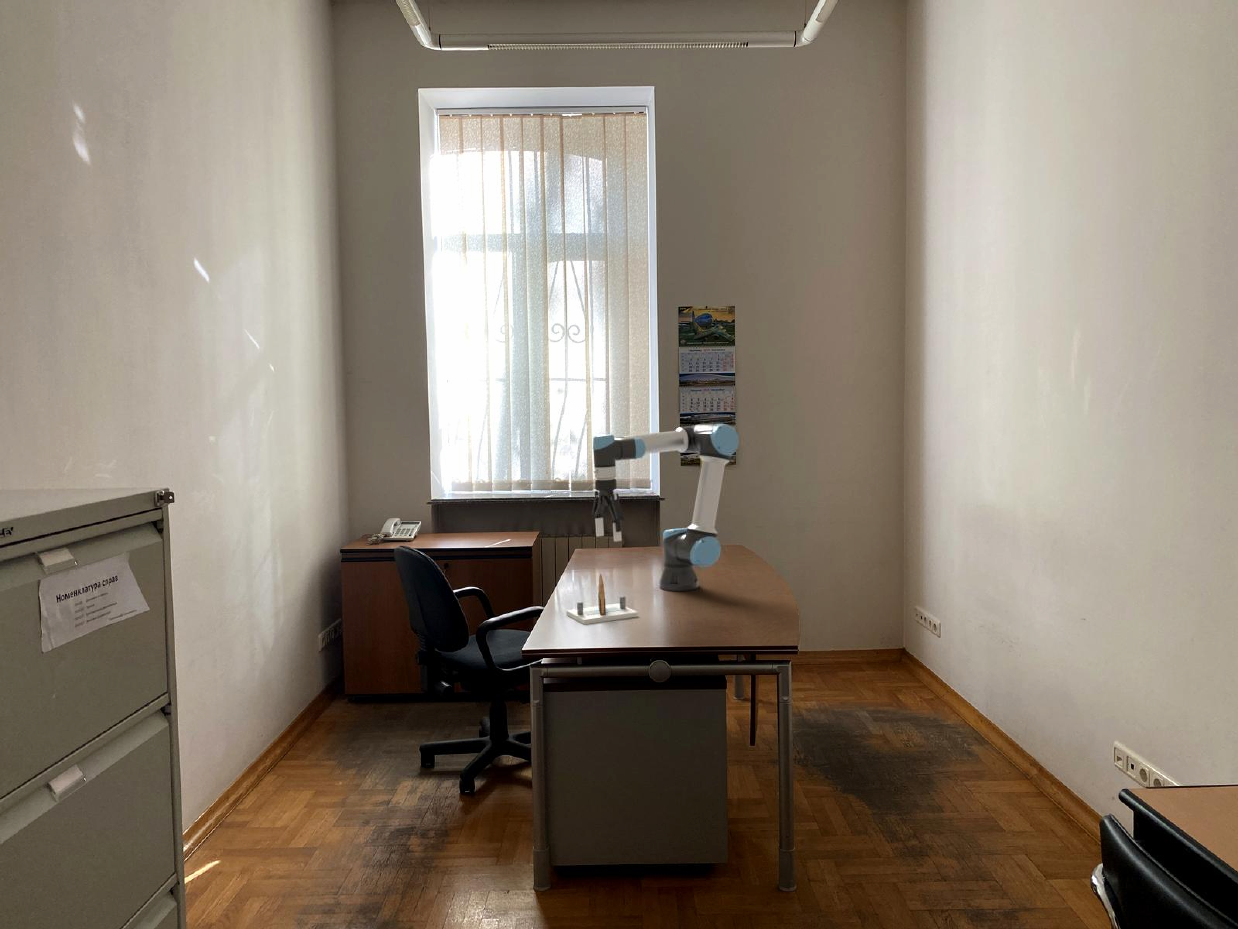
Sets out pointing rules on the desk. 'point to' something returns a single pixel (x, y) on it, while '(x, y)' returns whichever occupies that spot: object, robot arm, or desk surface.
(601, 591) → the ammunition clip
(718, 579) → the desk surface
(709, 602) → the desk surface
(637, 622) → the desk surface
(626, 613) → the board
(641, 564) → the desk surface
